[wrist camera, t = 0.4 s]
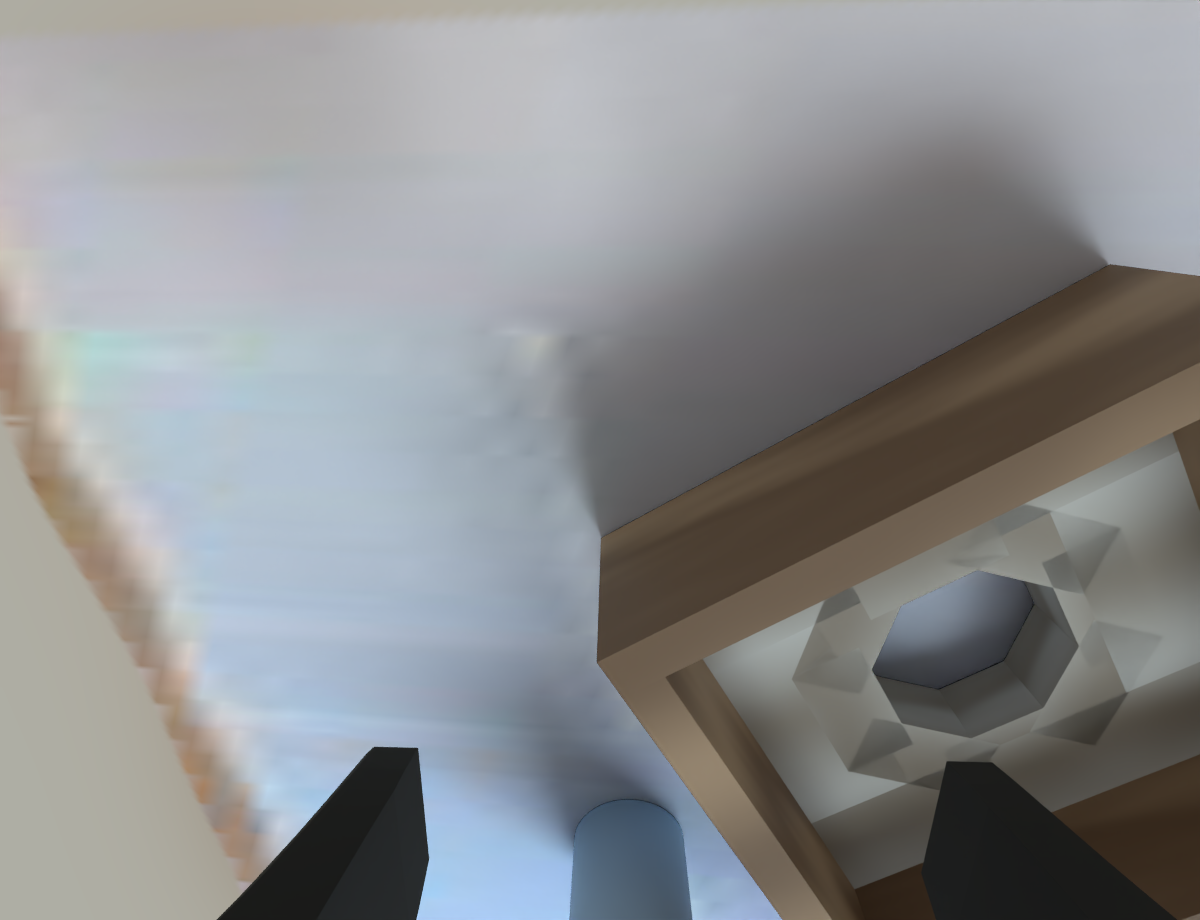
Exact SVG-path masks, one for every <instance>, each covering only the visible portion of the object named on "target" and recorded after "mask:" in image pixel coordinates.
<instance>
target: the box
mask: <svg viewBox="0 0 1200 920" xmlns="http://www.w3.org/2000/svg"><path fill="white" fill-rule="evenodd" d="M977 570H979V571H983V572H988V573H992V574H996V575H1001V576H1005V577H1009V578H1013V579H1018V580H1022V581H1024V582H1025V584H1026V586H1027V588H1028V591H1029V593H1030V595H1031V597H1032V599H1033V602H1034V606H1033V608H1032V610H1031V611H1030V613H1029V615H1028V617H1027V619H1026V621H1025V623H1024V624H1023V626H1022V628H1021V630H1020V632H1019V634H1018V636H1017V638H1016V639H1015V641H1014V643H1013V645H1012V647H1011V649H1010V651H1009V652H1008V654H1007V656H1006V658H1005V660H1004V661H1003V662H1001V663H999V664H996V665H994V666H992V667H989V668H987V669H985V670H983V671H980V672H978V673H976V674H974V675H971V676H969V677H967V678H964V679H962V680H960V681H958V682H955V683H953V684H951V685H949V686H946V687H944V688H942V689H939V690H938V689H933V688H929V687H924V686H920V685H915V684H910V683H906V682H901V681H897V680H892V679H888V678H883V677H879V676H875V674H874V672H873V671H872V668H873V666H874V664H875V662H876V659H877V657H878V655H879V653H880V651H881V649H882V646H883V644H884V642H885V640H886V638H887V636H888V633H889V631H890V629H891V627H892V625H893V622H894V620H895V618H896V616H897V614H898V612H899V609H900V607H901V606H902V605H904V604H906V603H909V602H911V601H913V600H915V599H917V598H919V597H921V596H923V595H926V594H928V593H930V592H932V591H934V590H936V589H938V588H941V587H943V586H945V585H947V584H949V583H951V582H953V581H955V580H958V579H960V578H962V577H964V576H966V575H968V574H970V573H972V572H975V571H977ZM597 663H598V665H599V666H600V668H601V669H602V670H603V672H604V673H605V674H606V676H607V677H608V679H609V680H610V681H611V683H612V684H613V686H614V687H615V688H616V690H617V691H618V692H619V694H620V695H621V697H622V698H623V699H624V701H625V702H626V704H627V705H628V706H629V708H630V709H631V710H632V712H633V713H634V715H635V716H636V717H637V719H638V720H639V722H640V723H641V724H642V726H643V727H644V728H645V730H646V731H647V733H648V734H649V735H650V737H651V738H652V740H653V741H654V742H655V744H656V745H657V746H658V748H659V749H660V751H661V752H662V753H663V755H664V756H665V758H666V759H667V760H668V762H669V763H670V764H671V766H672V767H673V769H674V770H675V771H676V773H677V774H678V776H679V777H680V778H681V780H682V781H683V782H684V784H685V785H686V787H687V788H688V789H689V791H690V792H691V794H692V795H693V796H694V798H695V799H696V800H697V802H698V803H699V805H700V806H701V807H702V809H703V810H704V812H705V813H706V814H707V816H708V817H709V818H710V820H711V821H712V823H713V824H714V825H715V827H716V828H717V830H718V831H719V832H720V834H721V835H722V836H723V838H724V839H725V841H726V842H727V843H728V845H729V846H730V847H731V849H732V850H733V852H734V853H735V854H736V856H737V857H738V859H739V860H740V861H741V863H742V864H743V865H744V867H745V868H746V870H747V871H748V872H749V874H750V875H751V877H752V878H753V879H754V881H755V882H756V883H757V885H758V886H759V888H760V889H761V890H762V892H763V893H764V895H765V896H766V897H767V899H768V900H769V901H770V903H771V904H772V906H773V907H774V908H775V910H776V911H777V913H778V914H779V915H780V917H781V918H782V919H783V920H936V918H935V915H934V912H933V909H932V906H931V903H930V899H929V896H928V893H927V890H926V887H925V884H924V881H923V877H922V874H921V871H922V867H923V862H924V858H925V853H926V849H927V845H928V840H929V836H930V832H931V827H932V823H933V818H934V814H935V810H936V805H937V801H938V797H939V792H940V788H941V784H942V779H943V775H944V770H945V766H946V762H947V761H960V762H992V763H994V764H995V765H996V766H997V767H999V768H1000V769H1001V770H1002V771H1003V772H1005V773H1006V774H1007V775H1008V776H1009V777H1011V778H1012V779H1013V780H1014V781H1015V782H1017V783H1018V784H1019V785H1020V786H1021V787H1022V788H1024V789H1025V790H1026V791H1027V792H1028V793H1029V794H1031V795H1032V796H1033V797H1034V798H1035V799H1036V800H1038V801H1039V802H1040V803H1041V804H1042V805H1043V806H1044V807H1046V808H1047V809H1048V810H1049V811H1050V812H1051V813H1053V814H1054V815H1055V816H1056V817H1057V818H1058V819H1059V820H1061V821H1062V822H1063V823H1064V824H1065V825H1066V826H1067V827H1069V828H1070V829H1071V830H1072V831H1073V832H1074V833H1076V834H1077V835H1078V836H1079V837H1080V838H1081V839H1083V840H1084V841H1085V842H1086V843H1087V844H1088V845H1089V846H1091V847H1092V848H1093V849H1094V850H1095V851H1096V852H1098V853H1099V854H1100V855H1101V856H1102V857H1103V858H1105V859H1106V860H1107V861H1108V862H1109V863H1110V864H1112V865H1113V866H1114V867H1115V868H1116V869H1117V870H1119V871H1120V872H1121V873H1122V874H1123V875H1124V876H1126V877H1127V878H1128V879H1129V880H1130V881H1132V882H1133V883H1134V884H1135V885H1136V886H1138V887H1139V888H1140V889H1141V890H1142V891H1143V892H1145V893H1146V894H1147V895H1148V896H1149V897H1151V898H1152V899H1153V900H1154V901H1155V902H1157V903H1158V904H1159V905H1160V906H1161V907H1163V908H1164V909H1165V910H1166V911H1167V912H1169V913H1170V914H1171V915H1172V916H1173V917H1175V918H1176V919H1177V920H1200V276H1195V275H1187V274H1179V273H1172V272H1164V271H1157V270H1149V269H1141V268H1134V267H1126V266H1118V265H1111V264H1110V265H1108V266H1106V267H1104V268H1103V269H1101V270H1099V271H1097V272H1095V273H1093V274H1091V275H1090V276H1088V277H1086V278H1084V279H1082V280H1080V281H1078V282H1077V283H1075V284H1073V285H1071V286H1069V287H1067V288H1065V289H1064V290H1062V291H1060V292H1058V293H1056V294H1054V295H1052V296H1051V297H1049V298H1047V299H1045V300H1043V301H1041V302H1039V303H1037V304H1036V305H1034V306H1032V307H1030V308H1028V309H1026V310H1024V311H1023V312H1021V313H1019V314H1017V315H1015V316H1013V317H1011V318H1010V319H1008V320H1006V321H1004V322H1002V323H1000V324H998V325H997V326H995V327H993V328H991V329H989V330H987V331H985V332H984V333H982V334H980V335H978V336H976V337H974V338H972V339H971V340H969V341H967V342H965V343H963V344H961V345H959V346H957V347H956V348H954V349H952V350H950V351H948V352H946V353H944V354H943V355H941V356H939V357H937V358H935V359H933V360H931V361H930V362H928V363H926V364H924V365H922V366H920V367H918V368H917V369H915V370H913V371H911V372H909V373H907V374H905V375H904V376H902V377H900V378H898V379H896V380H894V381H892V382H891V383H889V384H887V385H885V386H883V387H881V388H879V389H877V390H876V391H874V392H872V393H870V394H868V395H866V396H864V397H863V398H861V399H859V400H857V401H855V402H853V403H851V404H850V405H848V406H846V407H844V408H842V409H840V410H838V411H837V412H835V413H833V414H831V415H829V416H827V417H825V418H824V419H822V420H820V421H818V422H816V423H814V424H812V425H811V426H809V427H807V428H805V429H803V430H801V431H799V432H798V433H796V434H794V435H792V436H790V437H788V438H786V439H784V440H783V441H781V442H779V443H777V444H775V445H773V446H771V447H770V448H768V449H766V450H764V451H762V452H760V453H758V454H757V455H755V456H753V457H751V458H749V459H747V460H745V461H744V462H742V463H740V464H738V465H736V466H734V467H732V468H731V469H729V470H727V471H725V472H723V473H721V474H719V475H718V476H716V477H714V478H712V479H710V480H708V481H706V482H704V483H703V484H701V485H699V486H697V487H695V488H693V489H691V490H690V491H688V492H686V493H684V494H682V495H680V496H678V497H677V498H675V499H673V500H671V501H669V502H667V503H665V504H664V505H662V506H660V507H658V508H656V509H654V510H652V511H651V512H649V513H647V514H645V515H643V516H641V517H639V518H638V519H636V520H634V521H632V522H630V523H628V524H626V525H624V526H623V527H621V528H619V529H617V530H615V531H613V532H611V533H610V534H608V535H606V536H604V537H602V538H601V556H600V585H599V614H598V643H597Z"/></svg>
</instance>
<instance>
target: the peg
mask: <svg viewBox="0 0 1200 920" xmlns="http://www.w3.org/2000/svg"><path fill="white" fill-rule="evenodd" d="M569 920H692V912H691V903H690V894H689V885H688V876H687V867H686V857H685V848H684V839H683V833H682V830H681V828H680V825H679V824H678V822H677V821H676V819H675V818H674V817H673V816H672V815H671V814H670V813H668V812H667V811H666V810H664V809H663V808H661V807H659V806H657V805H654V804H652V803H649V802H645V801H640V800H617V801H612V802H608V803H605V804H603V805H600V806H598V807H596V808H594V809H593V810H592V811H590V812H589V813H588V814H587V815H585V816H584V818H583V819H582V820H581V821H580V823H579V824H578V826H577V829H576V831H575V836H574V852H573V869H572V885H571V901H570V918H569Z"/></svg>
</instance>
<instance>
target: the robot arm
mask: <svg viewBox="0 0 1200 920" xmlns="http://www.w3.org/2000/svg"><path fill="white" fill-rule="evenodd" d="M428 862H429V854H428V844H427V834H426V824H425V814H424V804H423V794H422V783H421V773H420V763H419V753H418V748H398V747H374V748H372V749H371V750H370V751H369V752H368V753H367V754H366V755H365V756H364V757H363V758H362V760H361V761H360V762H359V763H358V764H357V765H356V767H355V768H354V769H353V770H352V771H351V773H350V774H349V775H348V776H347V777H346V778H345V780H344V781H343V782H342V783H341V784H340V786H339V787H338V788H337V789H336V790H335V791H334V793H333V794H332V795H331V796H330V797H329V798H328V800H327V801H326V802H325V803H324V804H323V805H322V806H321V808H320V809H319V810H318V811H317V812H316V813H315V814H314V816H313V817H312V818H311V819H310V820H309V821H308V822H307V824H306V825H305V826H304V827H303V828H302V829H301V830H300V832H299V833H298V834H297V835H296V836H295V837H294V838H293V839H292V840H291V841H290V843H289V844H288V845H287V846H286V847H285V848H284V849H283V850H282V851H281V852H280V853H279V855H278V856H277V857H276V858H275V859H274V860H273V861H272V862H271V863H270V864H269V866H268V867H267V868H266V869H265V870H264V871H263V872H262V873H261V874H260V875H259V876H258V878H257V879H256V880H255V881H254V882H253V883H252V884H251V885H250V886H249V887H248V888H247V889H246V890H245V891H244V892H243V893H242V895H241V896H240V897H239V898H238V899H237V900H236V901H235V902H234V903H233V904H232V905H231V906H230V907H229V908H228V909H227V910H226V911H225V912H224V913H223V914H222V915H221V916H220V917H219V918H218V919H217V920H416V918H417V914H418V909H419V905H420V900H421V895H422V891H423V886H424V881H425V876H426V871H427V866H428ZM921 874H922V877H923V881H924V884H925V887H926V890H927V893H928V896H929V899H930V903H931V906H932V909H933V912H934V915H935V918H936V920H1177V919H1176V918H1175V917H1173V916H1172V915H1171V914H1170V913H1169V912H1167V911H1166V910H1165V909H1164V908H1163V907H1161V906H1160V905H1159V904H1158V903H1157V902H1155V901H1154V900H1153V899H1152V898H1151V897H1149V896H1148V895H1147V894H1146V893H1145V892H1143V891H1142V890H1141V889H1140V888H1139V887H1138V886H1136V885H1135V884H1134V883H1133V882H1132V881H1130V880H1129V879H1128V878H1127V877H1126V876H1124V875H1123V874H1122V873H1121V872H1120V871H1119V870H1117V869H1116V868H1115V867H1114V866H1113V865H1112V864H1110V863H1109V862H1108V861H1107V860H1106V859H1105V858H1103V857H1102V856H1101V855H1100V854H1099V853H1098V852H1096V851H1095V850H1094V849H1093V848H1092V847H1091V846H1089V845H1088V844H1087V843H1086V842H1085V841H1084V840H1083V839H1081V838H1080V837H1079V836H1078V835H1077V834H1076V833H1074V832H1073V831H1072V830H1071V829H1070V828H1069V827H1067V826H1066V825H1065V824H1064V823H1063V822H1062V821H1061V820H1059V819H1058V818H1057V817H1056V816H1055V815H1054V814H1053V813H1051V812H1050V811H1049V810H1048V809H1047V808H1046V807H1044V806H1043V805H1042V804H1041V803H1040V802H1039V801H1038V800H1036V799H1035V798H1034V797H1033V796H1032V795H1031V794H1029V793H1028V792H1027V791H1026V790H1025V789H1024V788H1022V787H1021V786H1020V785H1019V784H1018V783H1017V782H1015V781H1014V780H1013V779H1012V778H1011V777H1009V776H1008V775H1007V774H1006V773H1005V772H1003V771H1002V770H1001V769H1000V768H999V767H997V766H996V765H995V764H994V763H992V762H960V761H947V762H946V766H945V770H944V775H943V779H942V784H941V788H940V792H939V797H938V801H937V805H936V810H935V814H934V818H933V823H932V827H931V832H930V836H929V840H928V845H927V849H926V853H925V858H924V862H923V867H922V871H921Z"/></svg>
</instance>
